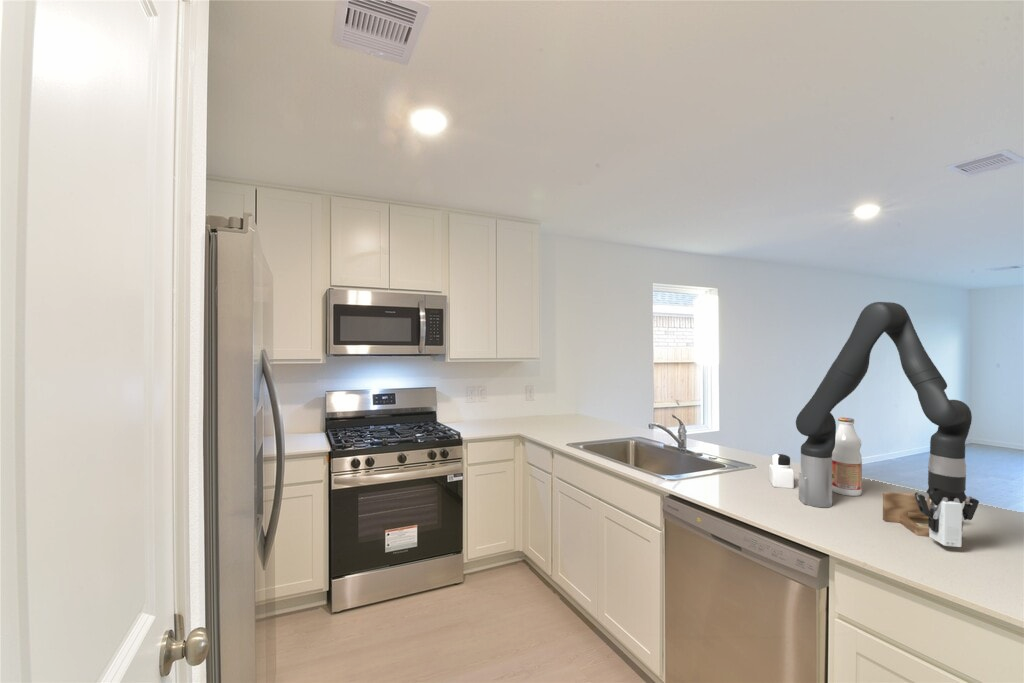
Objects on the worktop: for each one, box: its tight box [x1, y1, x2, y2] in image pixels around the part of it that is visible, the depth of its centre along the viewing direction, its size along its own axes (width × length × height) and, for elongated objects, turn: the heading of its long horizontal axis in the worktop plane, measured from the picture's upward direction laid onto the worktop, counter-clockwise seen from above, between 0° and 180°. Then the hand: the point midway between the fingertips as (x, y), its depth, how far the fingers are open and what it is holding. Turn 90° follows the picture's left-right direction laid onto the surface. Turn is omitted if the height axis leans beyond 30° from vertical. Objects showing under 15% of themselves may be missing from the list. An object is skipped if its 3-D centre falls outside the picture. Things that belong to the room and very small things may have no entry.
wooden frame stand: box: [882, 491, 931, 538], centre depth 136 cm, size 18×11×9 cm, turn 75°
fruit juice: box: [832, 416, 863, 497], centre depth 169 cm, size 9×9×28 cm
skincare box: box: [929, 499, 963, 548], centre depth 125 cm, size 6×4×12 cm
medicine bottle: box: [768, 453, 795, 490], centre depth 177 cm, size 7×7×12 cm
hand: (945, 531), depth 125 cm, fingers closed on skincare box, 4 cm apart
